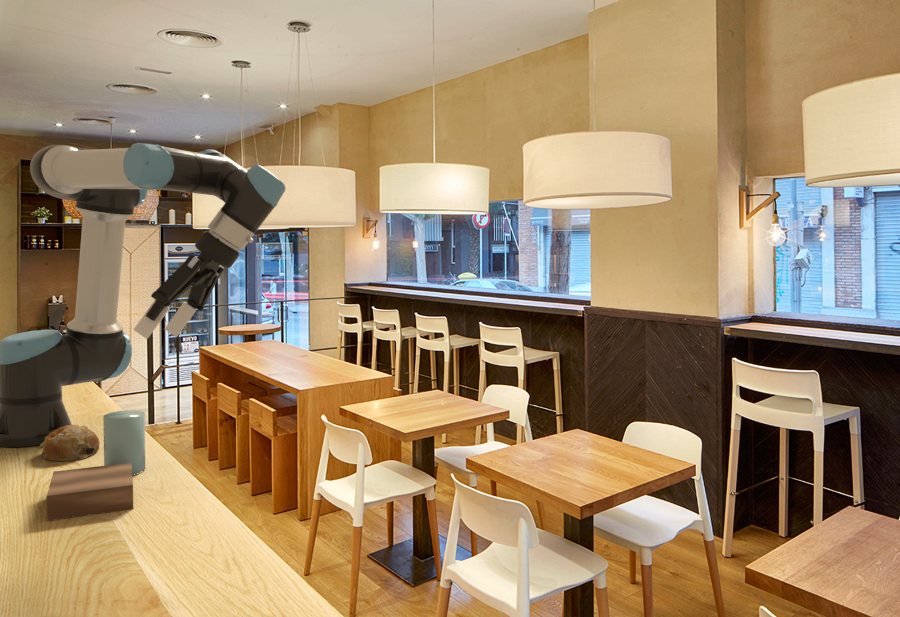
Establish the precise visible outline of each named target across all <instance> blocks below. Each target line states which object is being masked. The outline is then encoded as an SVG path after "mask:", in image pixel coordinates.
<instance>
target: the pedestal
mask: <svg viewBox="0 0 900 617" xmlns="http://www.w3.org/2000/svg"><path fill="white" fill-rule="evenodd" d="M133 480H134V478H133V476H132V463H124V464H115V465H106V466H104V465H100V466H99V465H98V466H91V467H82V468H71V469H64V470H55V471H54V470H53V472H52V476H51V479H50V483H49V487H48V491H47V493H46V494H47V495H46V515H47V516H46V517H47V518H46V519H47V520H46V521H47V522H49V520H50V521H56V520H55V519H57V520H62V518H64V519H69V517H71V518H73V517H72V516H78V517H82V516H81V515H85V516H89V515H88V514H92V515H95V514H94V513H99V514H102V513H101V512H105V513H111V512H119V511H124V510H125V511H126V510H132V509H134V481H133Z"/></svg>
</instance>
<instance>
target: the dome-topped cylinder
mask: <svg viewBox="0 0 900 617" xmlns="http://www.w3.org/2000/svg"><path fill="white" fill-rule="evenodd" d="M102 419H103V424H102V425H103V464H104V465H103V466H106V465H115V464H124V463H132V475H133V476H135V475H134V474H137V473H139V472H141V471H143V470H144V469H145V470H146V429H145V428H146V425H145V424H146V422H145V412H144V411H142V410H133V409H132V410H129V409H128V410H119V411H112V412H108V413H106V414H104V415H103V417H102ZM143 472H144V471H143ZM137 475H138V474H137Z"/></svg>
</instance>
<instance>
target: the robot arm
mask: <svg viewBox="0 0 900 617" xmlns="http://www.w3.org/2000/svg"><path fill="white" fill-rule="evenodd" d="M29 165H30V166H29V170H30V171H29V173H30V175H31V179H32V180H33V182H34V183H35V185H36V186H37V187H38V188H39V189H41V190H42V191H43V192H44V193H45V194H47V195H49V196H51V197H54V198H57V199H61V200H64V201H71V202H75V209H76V210H77V212H79V213H80V214H81V216H82V224H81V237H80V238H81V239H80V246H79V248H80V249H79V261H78V262H79V263H78V274H77V285H76V286H77V287H76V299H75V300H76V301H75V315H74V318H73V319H72V320H70V321H69V322H68V323H67V324H66V332H65V334H61V332H60V331H59V330H57V329H39V330H29V331H22V332H19V333H15V334H11V335H9V336H6V337H4V338H2V339H1V340H0V447H4V448H23V447H24V448H25V447H33V446H38V445H39V446H40V444H41V443H43V442H44V440H45V439H44V438H45V437H47V436H48V435H49V434H50V433H51V432H53V431H54V430H56V429H58V428H60V427H63V426H66V425H73V424H72V421H71V419H70V416H69V414H68V411H67V408H66V406H65V404H64V402H63V387H65V386H71V385H78V384H84V383H91V382H104V381H106V380H108V379H109V380H110V379H113V378H116V377H119V376H121V375H122V374H123V373H124V372H125V371H126V370H127V369H128V367H129V365H130V362H131V360H132V359H131V358H132V354H133V348H132V346H133V345H132V344H131V338H130V336H129V335H128V333H126V332H125V331H124V326H123V325H122V324H121V323H120V322H119V321H118V320H117V319H118V318H117V317H118V306H119V296H120V295H119V294H120V283H121V276H122V275H121V273H122V263H123V262H122V261H123V252H124V239H125V230H126V227H125V226H126V222H127V220H130V218H132V217H133V216H134V211H135V210H134V209H135V207H138V206H141V205H142V204H143V203H144V201H145V199H146V197H147V194H148V190H149V191H150V190H154V191H155V190H156V191H157V190H158V191H159V190H161V191H171V192H183V193H189V194H197V195H198V194H199V195H205V196H206V195H209V196H214V197H216V198H218V199H219V200H221V201H222V202H224V204H223V205H222V207H220V210H218V212H216V214H215V216H213V219H212V220H211V221H210V223H209V224H208V226H207V227H208V228H207V229H209V230H205V231H203V233H201V235H200V237H199V238H198V239H197V240H196V242H195V244H194V246H195V249H196V250H198V251H199V252H200V253H199V255H198V256H195V255H194V254H189V255H188V257H187V258H186V259H185V260H184V262H183V263H182V264H181V265H180V266H179V267H178V268H177V269H176V270H175V271H174V272H173V273H172V274H171V275H170V276H169V277H168V278H167V279H166V280H165V281H164V282H163V283H162V284H161V285H159V287H158V288H157V289H156V290H155V291H153V292H152V293H151V295H150V296H151V298H152V299H154V300H153V302H152V303H151V305H149V307H148V309H147V310H146V312H145V313H144V314H143V316H142V317H141V318H140V320H139V321H138V322H137V324H135V327H134V328H133V331H135V332H136V333H137V334H139V335H140V336H142V337H143V338H144V339H149V338H150V336H151V335H152V334H153V332H154V331H155V330H156V328H157V326H159V324H160V323H161V321H162V320H163V319H164V317H165V316H166V314H167V313H168V312H169V310H170V305H172V304H173V303H174V302H175V301H176V300H178V299H179V298H180V297H181V296H182V295H184V294H185V293H186V292H187V291H189V289H190V292H189V294H188V296H187V299H186V300H187V301H183V303H182V304H181V305H180V306H179V308H178V309H177V311H176V312H175V314H174V315H173V316H172V317H171V319H170V320H169V322H168V323H167V324H166V325H165V327H164V330H165V331H166V332H168V333H169V334H171V335H172V336H173V337H175V338H178V336H179V335H180V333H181V332H182V331H183V330H184V328H185V327H186V325H187V324H188V323H189V321H190V320H191V319H192V317H193V316H194V314H195V313H196V312H197V311H199V312H202V311H203V310H204V308H205V307H204V306H206V304H207V302H208V300H209V297H210V295H211V293H212V292H213V290H214V288H215V286H216V284H217V282H218V280H219V278H220V276H221V275H222V273H223V272H224V270H225V268H226V269H230V268H232V266H233V265H234V264H235V262H236V261H237V260H238V258H239V256H240V251H241V250H245V248H246V246H247V245H248V244H249V243H250V244H252V243H253V242H254V239H253V236H255V234H256V233H257V231H258V230H259V228H261V226H262V225H263V223H264V222H265V220H266V219H267V217H269V215H270V214H271V213H272V211H273V210H274V209H275V207H277V205H278V203H279V202H280V200H281V198H282V196H283V195H284V193H285V192H286V185H285V182H283V181H282V180H281V179H280V178H278V177H277V176H276V175H274V174H273V173H272V172H270V171H269V170H268V169H266V168H265V167H263V166H262V165H260V164H253V165H251V167H250V168H249V169H246V168H245V167H243V166H241V165H240V164H238V163H237V162H235V161H234V160H232V158H231V157H229V156H228V155H226V154H225V153H222V152H219V151H217V150H216V149H209V148H208V149H207V148H206V149H204V150H202V151H199V152H195V151H190V150H182V149H179V148H178V149H177V148H172V147H167V146H163V145H160V144H156V143H144V142H137V143H133V144H132V145H131V147H125V148H124V147H121V148H120V147H119V148H101V149H100V148H98V149H97V148H96V149H93V148H86V147H81V146H80V147H79V146H75V145H66V144H55V145H54V144H53V145H47V146H45V147H43V148H40V149H39V150H37V151H36V152H35V153H34V155H33V157H32V158H31V161H30V164H29ZM239 250H240V251H239Z"/></svg>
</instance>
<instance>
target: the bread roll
mask: <svg viewBox="0 0 900 617" xmlns="http://www.w3.org/2000/svg"><path fill="white" fill-rule="evenodd" d="M44 439H45V440H44V442H43V443H41V444H40V445H39V447H38V448H39V449H42V452H41V456H43V458H44V459H45V460H48V461H50V462H73V461H78V460H85V459H87V458H89V457H91V456H93V455H94V454H97V452H98V451H99V450H100V443H101V442H100V439H99V437H98V435H97V434H96V433H95V432H94V431H93V430H91V429H90V428H88V426H86V425H79V424H72V425H66V426H63V427H60V428H58V429H56V430H54V431H53V432H51V433H50V434H49V435H48V436H47V437H45V438H44ZM88 456H89V457H88ZM84 458H85V459H84ZM77 459H78V460H77Z"/></svg>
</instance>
